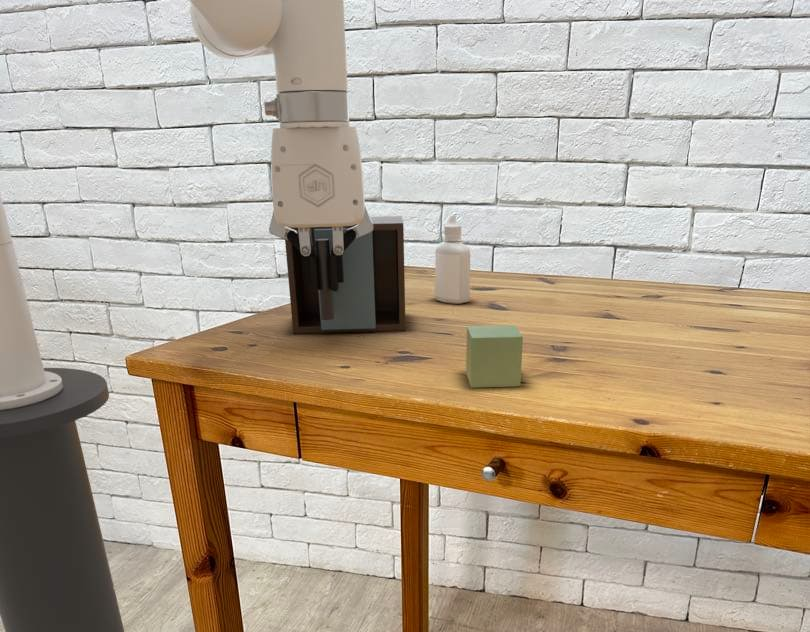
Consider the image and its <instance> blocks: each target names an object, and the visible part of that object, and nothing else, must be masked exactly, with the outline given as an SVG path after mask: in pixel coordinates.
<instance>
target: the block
mask: <svg viewBox="0 0 810 632" xmlns="http://www.w3.org/2000/svg"><path fill="white" fill-rule="evenodd" d="M523 339H524V337H523V334H521V332H520V330H519V329H518V327H517V326H516V325H515V324H512V325H511V324H510V325H509V324H508V325H507V324H506V325H474V326H473V325H472V326H470V325H469V326H467V327H466V356H465V357H466V358H465V359H466V360H465V362H466V363H465V374H466V377H467V380H468V383H469V387H470V389H471V388H477V389H478V388H512V387H521V382H522V381H521V380H522V363H523V361H522V359H523V343H524V342H523V341H524V340H523Z"/></svg>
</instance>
